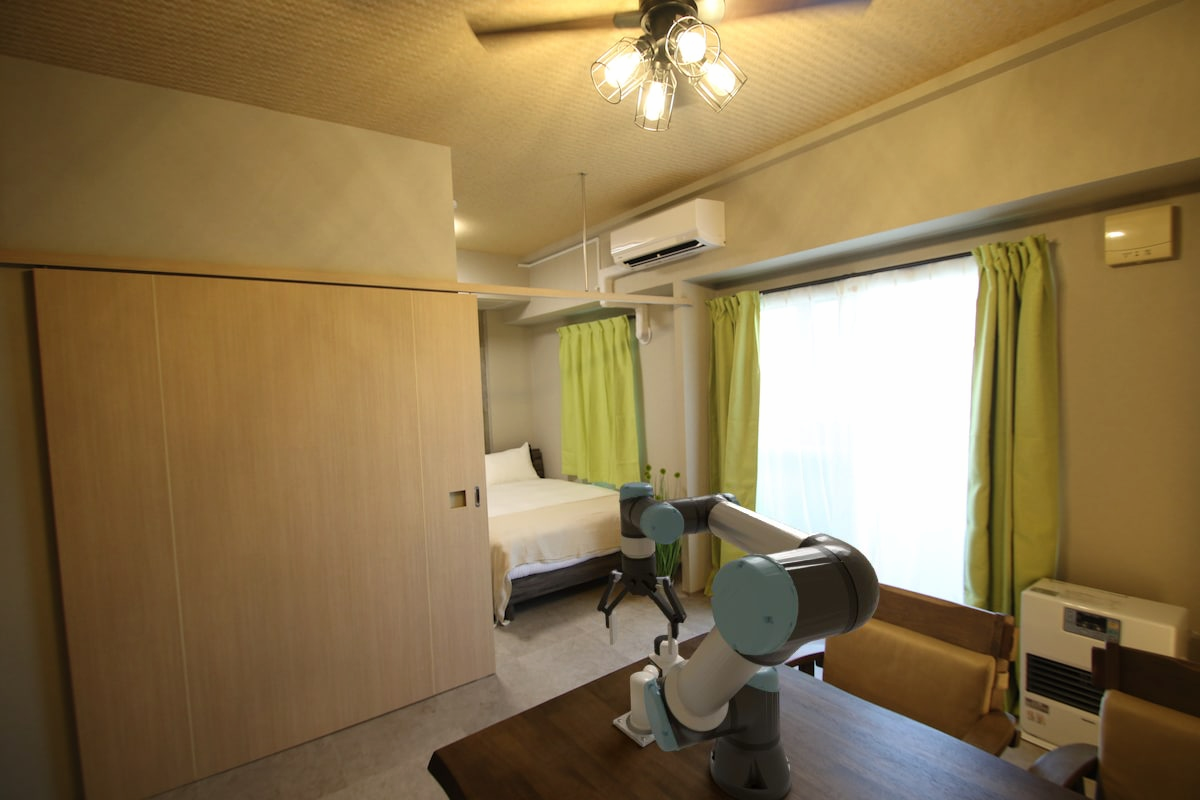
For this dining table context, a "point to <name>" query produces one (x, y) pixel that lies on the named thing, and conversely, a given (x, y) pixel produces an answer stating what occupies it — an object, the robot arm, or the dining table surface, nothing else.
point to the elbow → (640, 697)
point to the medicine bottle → (663, 656)
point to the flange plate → (633, 730)
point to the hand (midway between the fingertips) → (642, 647)
